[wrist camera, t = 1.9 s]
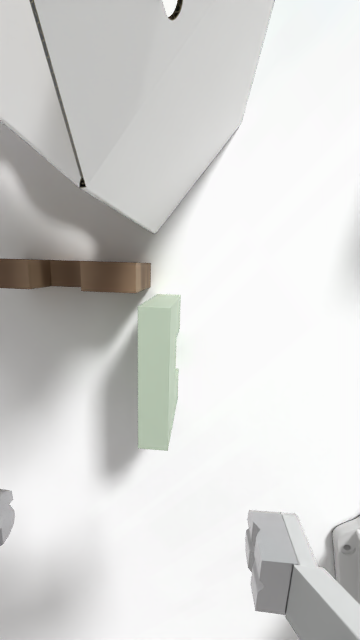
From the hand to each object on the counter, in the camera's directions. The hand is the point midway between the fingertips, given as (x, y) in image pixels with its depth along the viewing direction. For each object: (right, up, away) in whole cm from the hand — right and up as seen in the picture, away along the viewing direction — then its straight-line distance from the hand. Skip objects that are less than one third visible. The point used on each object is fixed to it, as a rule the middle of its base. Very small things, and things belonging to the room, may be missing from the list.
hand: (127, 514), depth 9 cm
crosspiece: (0, +3, +21) cm, 21 cm away
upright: (-8, +12, +20) cm, 25 cm away
